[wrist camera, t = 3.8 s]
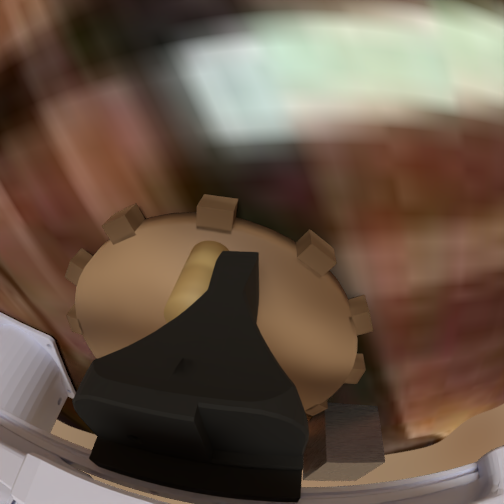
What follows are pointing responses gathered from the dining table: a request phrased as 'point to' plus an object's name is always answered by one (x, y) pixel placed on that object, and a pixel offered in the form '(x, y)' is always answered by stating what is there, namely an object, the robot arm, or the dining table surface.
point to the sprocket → (197, 282)
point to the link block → (343, 443)
